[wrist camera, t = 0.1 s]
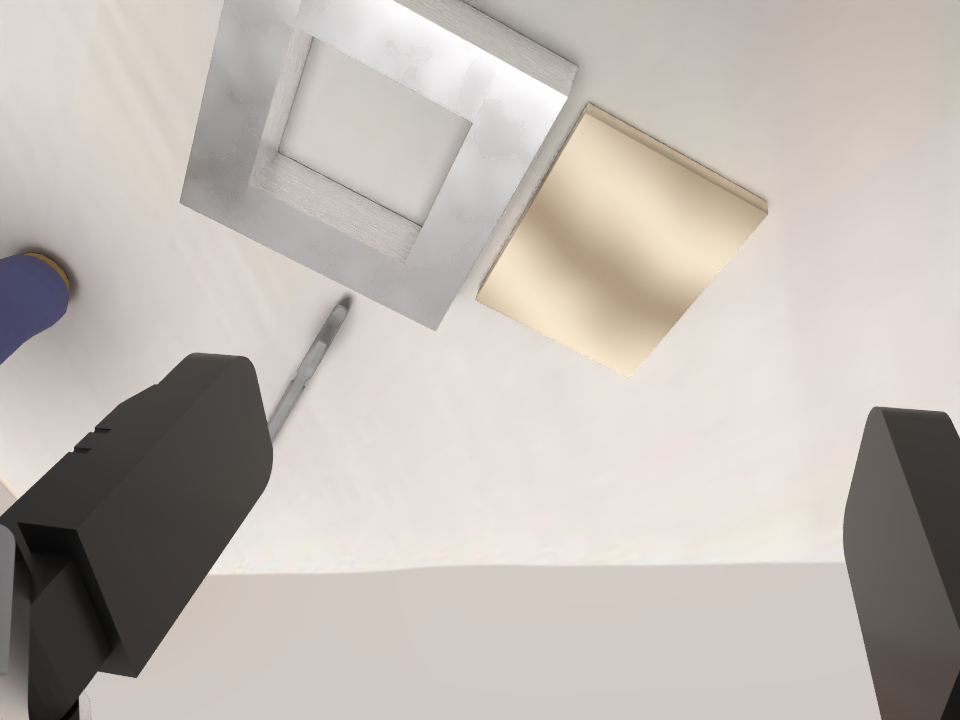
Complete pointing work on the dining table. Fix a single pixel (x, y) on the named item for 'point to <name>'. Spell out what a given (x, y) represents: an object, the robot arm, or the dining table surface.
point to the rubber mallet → (29, 298)
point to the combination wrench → (306, 369)
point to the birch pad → (617, 243)
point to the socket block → (336, 209)
